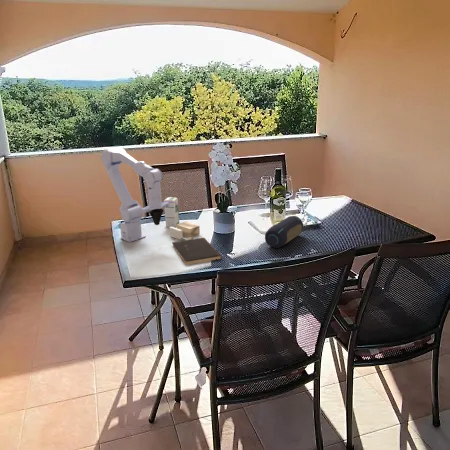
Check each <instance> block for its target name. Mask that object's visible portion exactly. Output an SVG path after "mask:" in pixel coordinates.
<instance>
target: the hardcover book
mask: <svg viewBox="0 0 450 450" xmlns="http://www.w3.org/2000/svg"><path fill="white" fill-rule="evenodd" d="M177 241H178V242H177ZM177 241H173V242H171V244H172V246H173V248H174V250H175V251H176V252H177V253H178V255H179V256H180V257H181V259H182V260H183V263H185V265H187V264H188V265H192V263H193V264H198V262H199V263H205V262H210V261H209V260H211V261H216V259H217V260H221V259H223V257H222V255H221V253H220V252H218V250H217V249H215V247H214V246H213V245H212V244H211V243H210V242H209V241H208V240H207V239H206V238H205V237H198V238H192V239H190V240H184V241H180V240H177ZM204 261H205V262H204Z"/></svg>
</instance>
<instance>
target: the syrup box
mask: <svg viewBox="0 0 450 450" xmlns="http://www.w3.org/2000/svg"><path fill="white" fill-rule="evenodd" d="M163 202H169V207H163V208H164V219H165V226H166V228H167V227H168V228H169V227H175V228H177V224H180V214H179V199H178V197H175V196H174V197H173V196H172V197H171V196H169V197H166V198H165V199H164V200H163Z"/></svg>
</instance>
